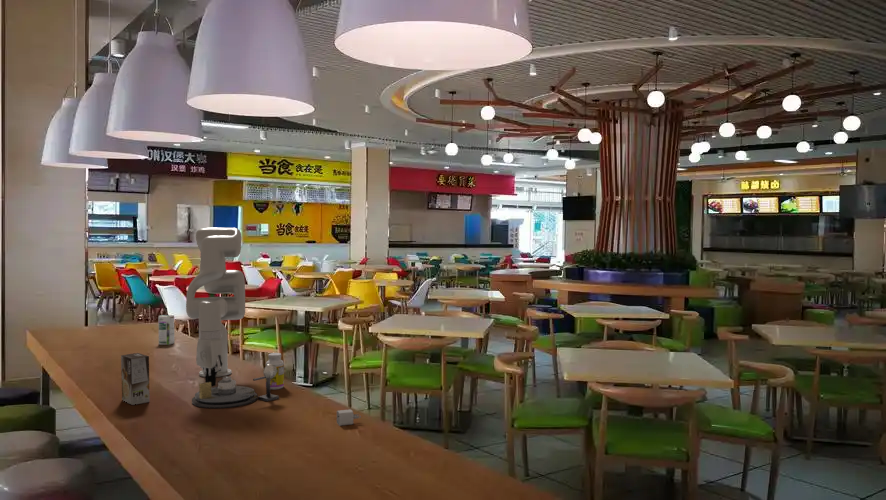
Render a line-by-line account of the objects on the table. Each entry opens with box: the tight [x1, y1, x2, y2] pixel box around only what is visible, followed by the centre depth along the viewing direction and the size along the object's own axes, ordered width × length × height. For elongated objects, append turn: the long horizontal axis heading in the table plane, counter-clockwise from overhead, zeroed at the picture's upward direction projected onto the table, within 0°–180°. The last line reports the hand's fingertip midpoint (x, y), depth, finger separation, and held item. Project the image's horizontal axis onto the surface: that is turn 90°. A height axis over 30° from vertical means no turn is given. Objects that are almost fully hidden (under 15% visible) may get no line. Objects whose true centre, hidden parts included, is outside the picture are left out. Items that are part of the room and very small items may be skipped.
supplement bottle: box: [265, 352, 285, 391], centre depth 258 cm, size 7×7×13 cm
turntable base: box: [191, 392, 259, 409], centre depth 241 cm, size 22×22×1 cm
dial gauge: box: [252, 364, 280, 403], centre depth 240 cm, size 5×9×12 cm, turn 143°
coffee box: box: [120, 352, 151, 406], centre depth 238 cm, size 9×6×16 cm
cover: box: [217, 375, 237, 395], centre depth 240 cm, size 6×6×6 cm
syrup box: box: [157, 314, 175, 346], centre depth 347 cm, size 6×6×14 cm
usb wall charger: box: [336, 409, 362, 427], centre depth 214 cm, size 4×7×4 cm, turn 112°
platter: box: [194, 382, 256, 404], centre depth 240 cm, size 20×20×6 cm
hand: (210, 385), depth 246 cm, fingers closed
